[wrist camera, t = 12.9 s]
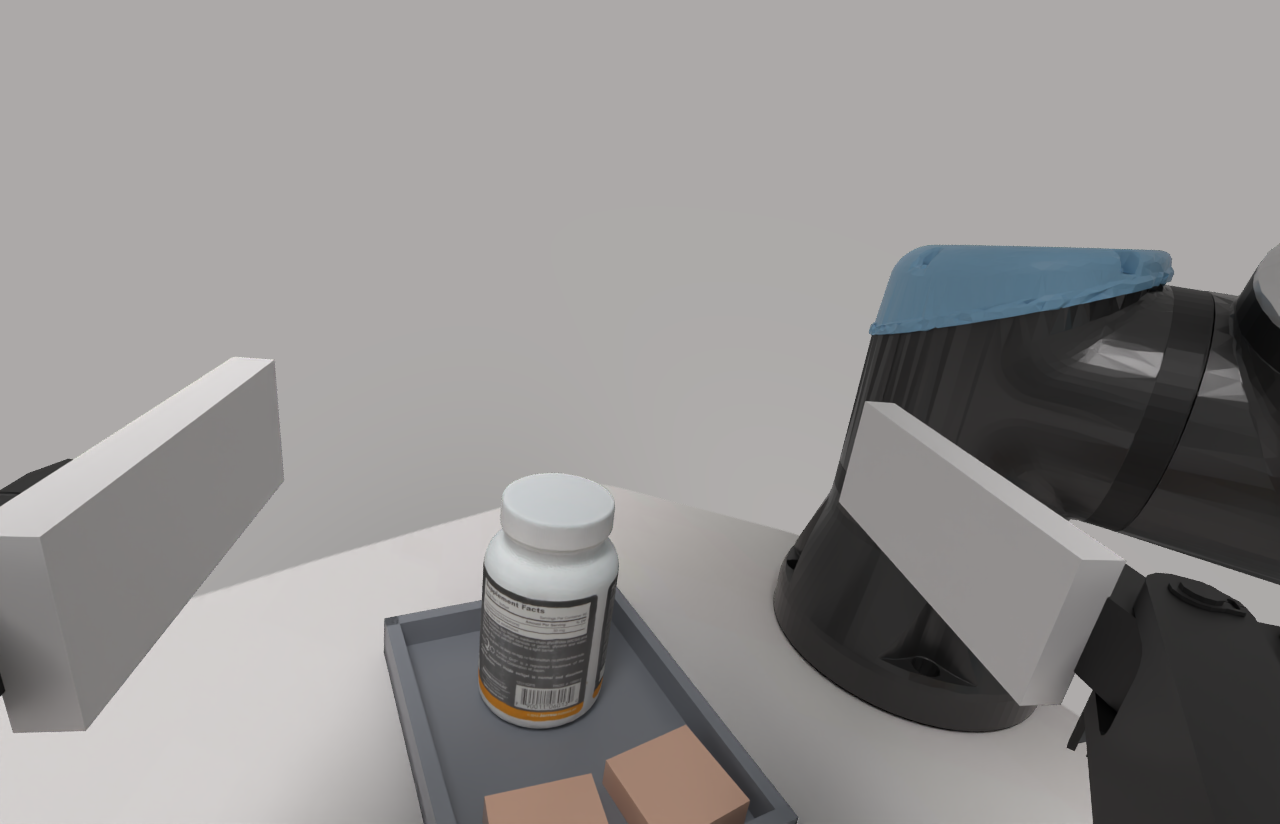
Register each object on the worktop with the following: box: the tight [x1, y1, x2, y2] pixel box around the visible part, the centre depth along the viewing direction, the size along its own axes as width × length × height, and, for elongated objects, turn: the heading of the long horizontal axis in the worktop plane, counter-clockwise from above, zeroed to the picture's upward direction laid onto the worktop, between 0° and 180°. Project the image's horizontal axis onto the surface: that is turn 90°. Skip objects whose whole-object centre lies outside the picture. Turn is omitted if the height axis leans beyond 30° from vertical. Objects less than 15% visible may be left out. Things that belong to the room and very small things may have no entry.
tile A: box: [602, 725, 750, 824], centre depth 25 cm, size 4×4×1 cm
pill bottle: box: [478, 473, 619, 729], centre depth 28 cm, size 6×6×10 cm
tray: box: [384, 587, 798, 824], centre depth 27 cm, size 12×16×2 cm
